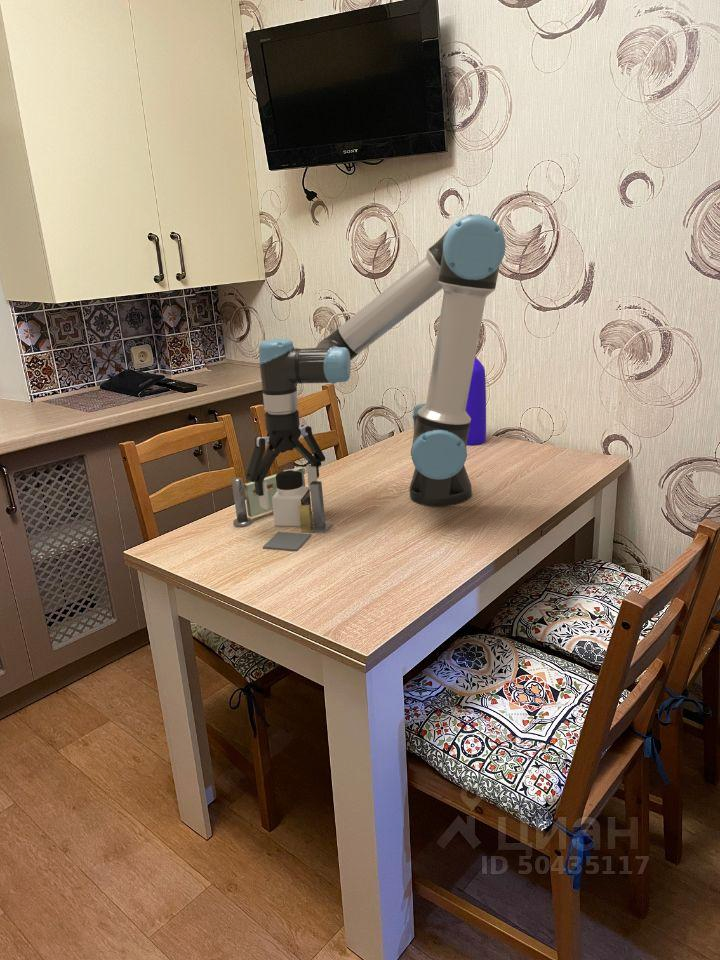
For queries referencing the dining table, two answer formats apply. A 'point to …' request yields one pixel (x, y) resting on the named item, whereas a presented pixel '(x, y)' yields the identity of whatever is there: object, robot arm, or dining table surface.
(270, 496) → the gate
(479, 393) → the bottle
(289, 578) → the dining table surface
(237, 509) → the hinge post
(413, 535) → the dining table surface
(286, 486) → the medicine bottle
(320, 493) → the post
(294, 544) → the mat
